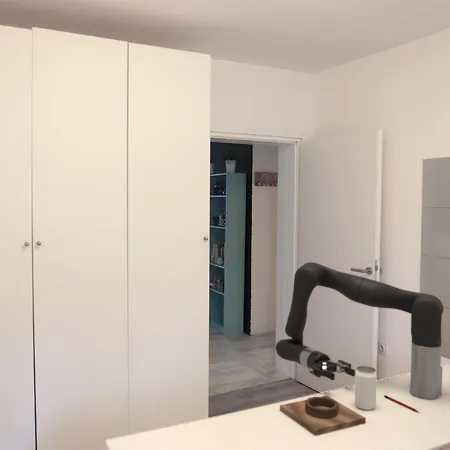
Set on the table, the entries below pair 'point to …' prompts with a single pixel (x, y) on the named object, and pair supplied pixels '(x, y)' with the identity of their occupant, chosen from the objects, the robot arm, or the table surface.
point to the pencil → (401, 403)
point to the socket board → (322, 423)
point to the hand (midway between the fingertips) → (344, 375)
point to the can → (365, 388)
